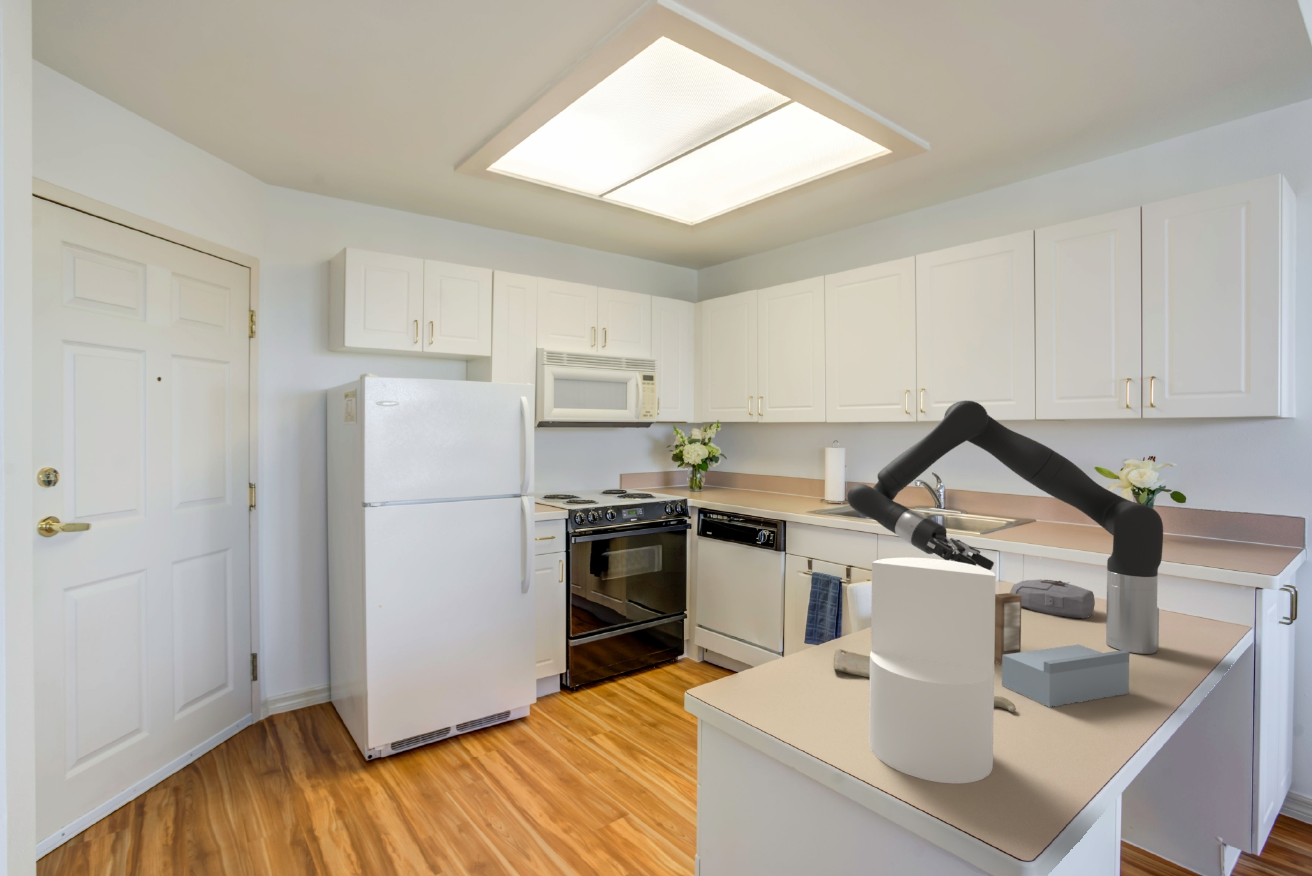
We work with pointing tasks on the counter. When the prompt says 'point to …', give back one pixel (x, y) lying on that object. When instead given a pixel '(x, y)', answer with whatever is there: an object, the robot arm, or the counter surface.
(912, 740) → the cylinder
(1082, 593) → the grey rounded bag
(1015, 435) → the robot arm
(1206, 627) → the counter surface
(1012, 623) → the brown wooden block
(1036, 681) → the display riser
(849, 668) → the decorative wall piece
